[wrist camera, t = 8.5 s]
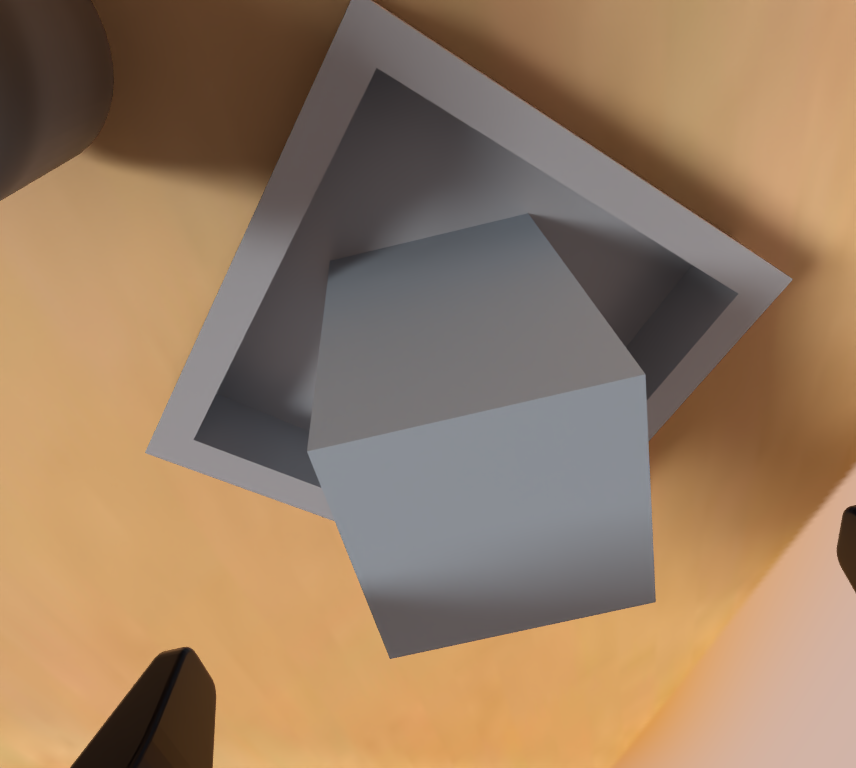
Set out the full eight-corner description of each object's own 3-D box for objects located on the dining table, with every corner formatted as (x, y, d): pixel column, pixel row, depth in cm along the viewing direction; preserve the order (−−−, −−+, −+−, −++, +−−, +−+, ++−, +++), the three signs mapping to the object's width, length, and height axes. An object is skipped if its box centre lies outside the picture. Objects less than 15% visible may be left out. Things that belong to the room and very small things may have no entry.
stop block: (528, 213, 14) (645, 373, 8) (551, 382, 17) (655, 602, 11) (329, 260, 15) (306, 451, 9) (380, 421, 17) (389, 658, 11)
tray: (356, -10, 12) (355, -10, 10) (734, 239, 16) (793, 279, 13) (172, 392, 16) (144, 453, 14) (501, 522, 20) (518, 587, 18)
